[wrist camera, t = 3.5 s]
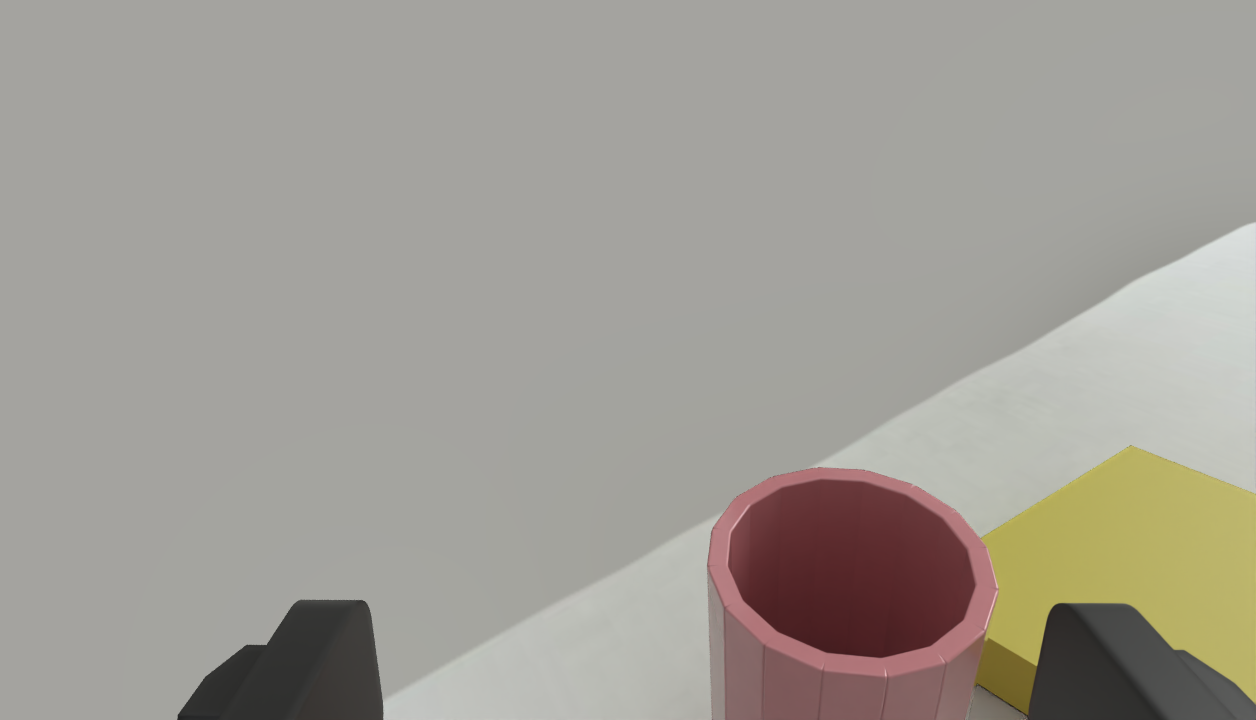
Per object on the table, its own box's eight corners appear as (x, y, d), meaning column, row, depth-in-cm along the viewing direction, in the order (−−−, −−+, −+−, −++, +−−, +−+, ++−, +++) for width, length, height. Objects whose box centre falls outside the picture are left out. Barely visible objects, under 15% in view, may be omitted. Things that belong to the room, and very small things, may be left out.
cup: (706, 911, 21) (695, 658, 15) (724, 706, 26) (719, 461, 20) (950, 949, 20) (1027, 692, 14) (919, 728, 24) (969, 474, 19)
